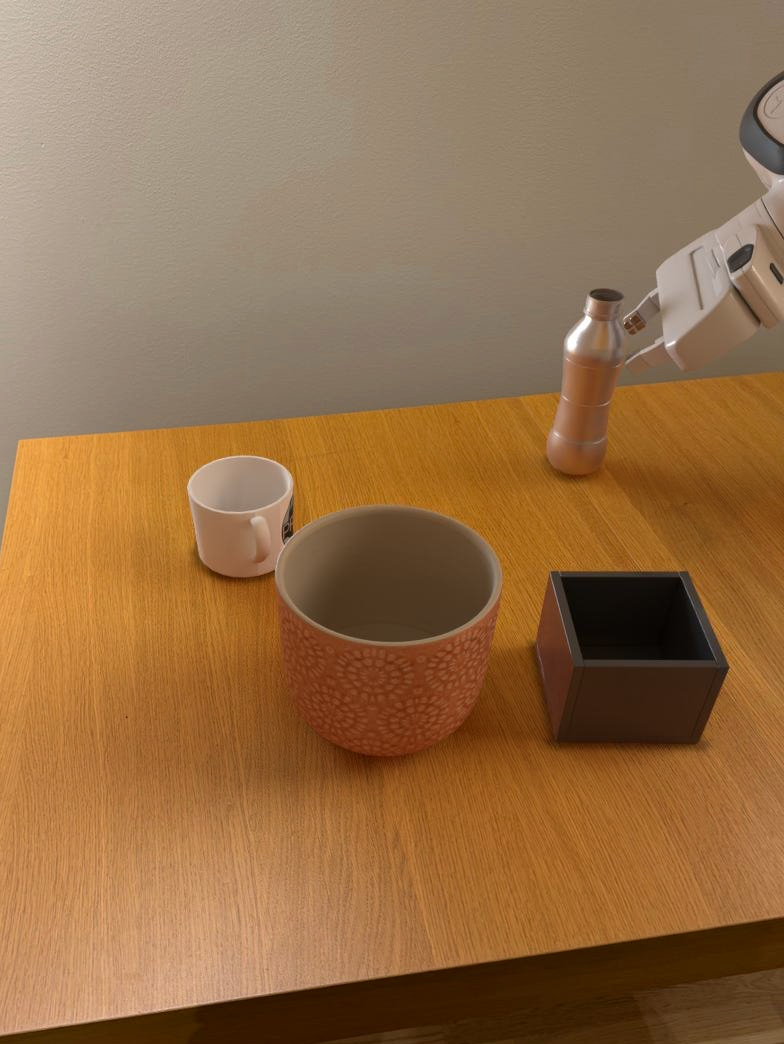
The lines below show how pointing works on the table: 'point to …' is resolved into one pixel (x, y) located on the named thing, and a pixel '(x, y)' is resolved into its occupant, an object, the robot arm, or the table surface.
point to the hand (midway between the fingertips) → (627, 347)
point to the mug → (241, 514)
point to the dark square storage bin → (627, 657)
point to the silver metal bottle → (588, 384)
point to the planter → (386, 625)
